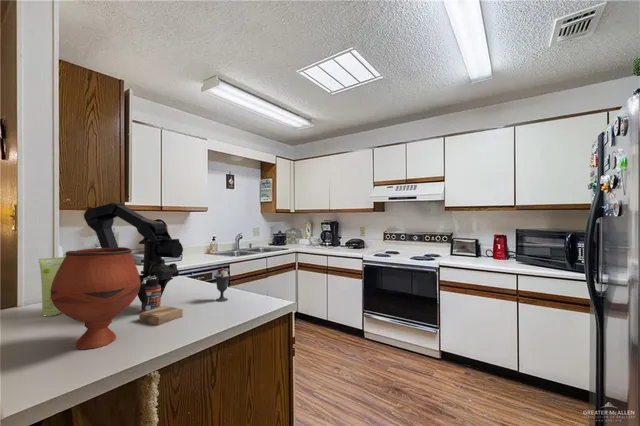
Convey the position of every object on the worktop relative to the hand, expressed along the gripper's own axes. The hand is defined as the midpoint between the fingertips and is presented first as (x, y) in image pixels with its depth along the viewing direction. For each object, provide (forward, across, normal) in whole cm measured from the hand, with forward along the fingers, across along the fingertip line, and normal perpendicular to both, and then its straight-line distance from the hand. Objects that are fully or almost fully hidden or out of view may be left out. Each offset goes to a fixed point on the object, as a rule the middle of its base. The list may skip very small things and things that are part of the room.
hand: (151, 299), depth 101 cm
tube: (+4, -17, +26) cm, 31 cm away
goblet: (+4, -24, -11) cm, 26 cm away
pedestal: (+4, -4, -10) cm, 12 cm away
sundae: (+4, +22, -13) cm, 26 cm away
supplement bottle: (+4, 0, 0) cm, 4 cm away
